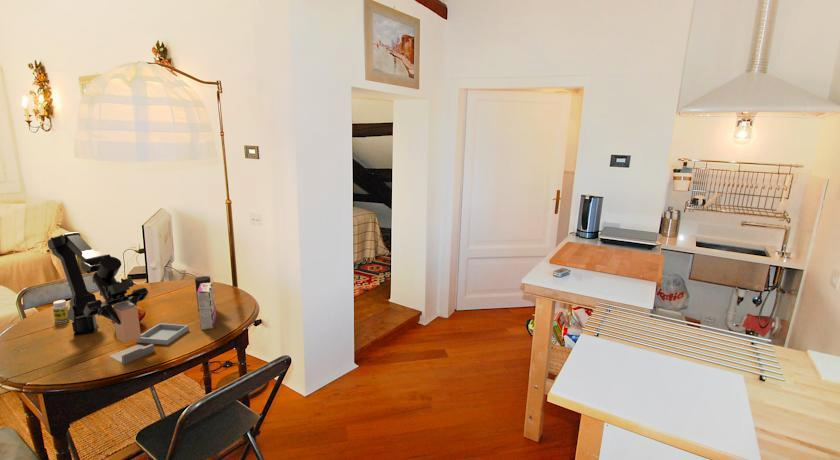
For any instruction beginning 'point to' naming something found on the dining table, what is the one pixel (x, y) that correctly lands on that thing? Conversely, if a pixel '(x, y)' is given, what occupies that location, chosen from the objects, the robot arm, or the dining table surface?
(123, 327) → the tall pink carton
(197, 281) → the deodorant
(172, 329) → the tray
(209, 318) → the candy bar box
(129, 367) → the dining table surface
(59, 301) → the supplement bottle
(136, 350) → the plate
